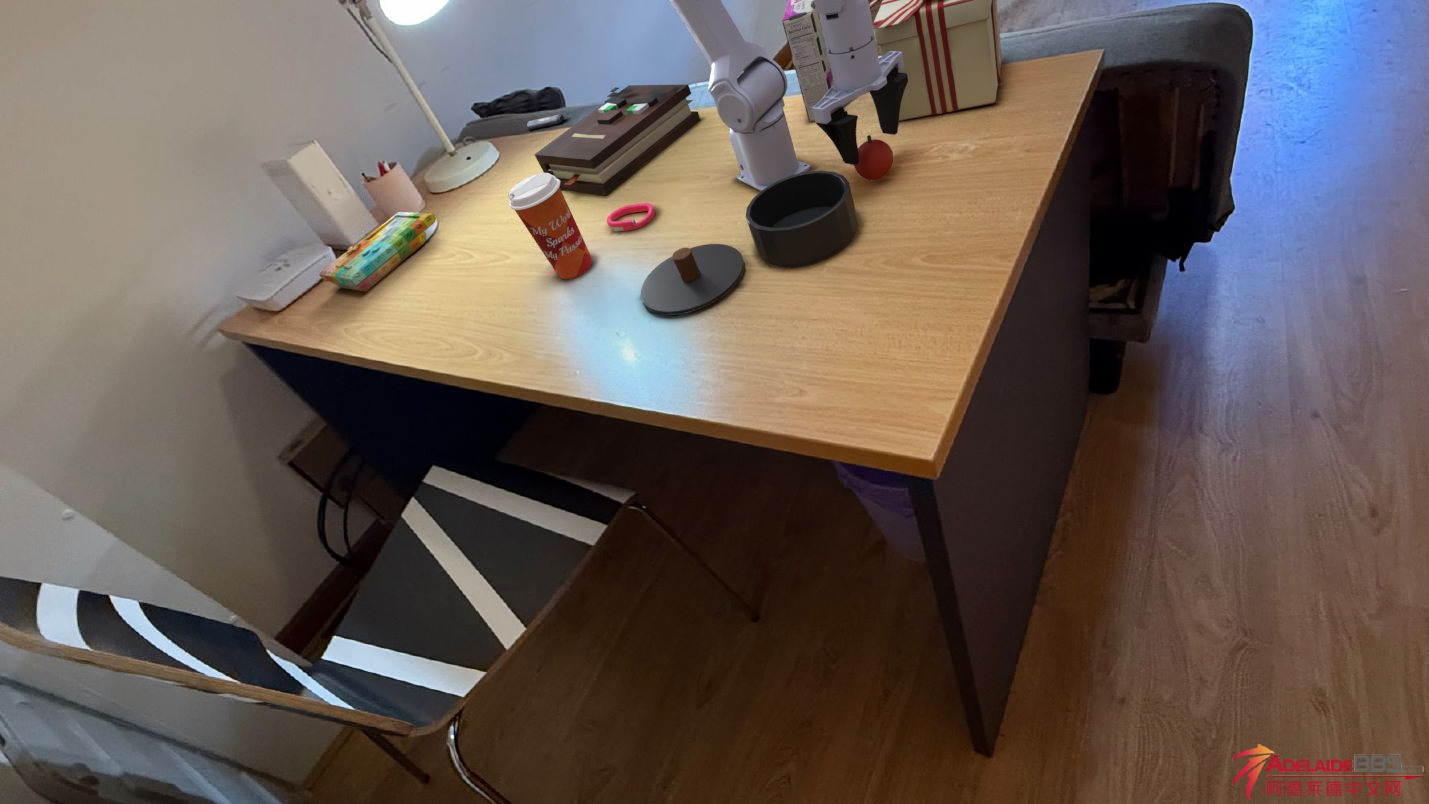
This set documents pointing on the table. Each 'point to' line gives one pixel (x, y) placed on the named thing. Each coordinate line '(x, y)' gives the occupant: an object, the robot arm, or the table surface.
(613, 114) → the decorative book
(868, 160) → the apple
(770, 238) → the pan
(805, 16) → the candy bar box
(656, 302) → the lid
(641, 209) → the fitness band
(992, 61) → the gift box
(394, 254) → the puzzle game
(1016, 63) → the table surface
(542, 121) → the usb stick
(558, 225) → the paper cup
